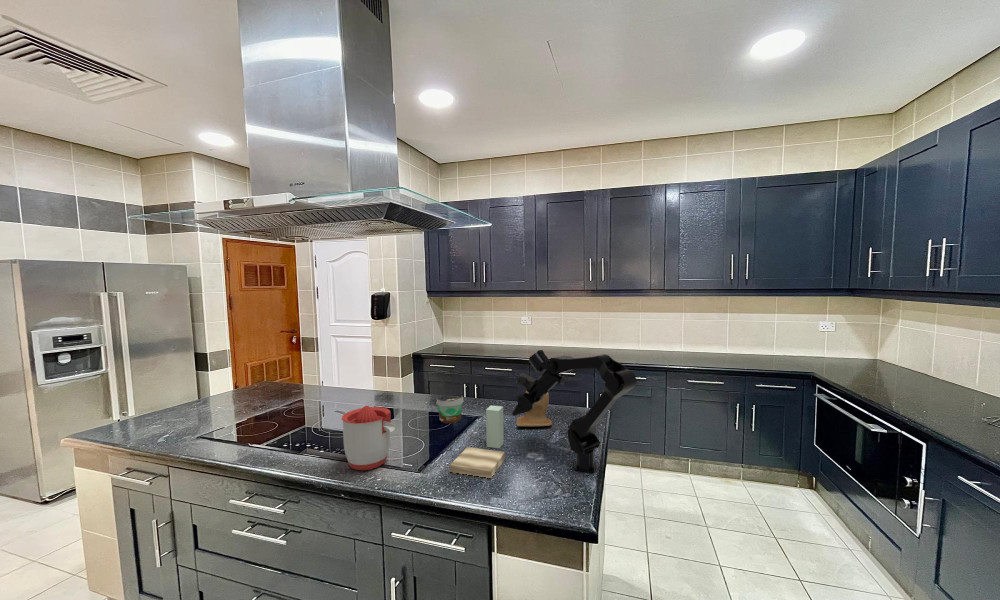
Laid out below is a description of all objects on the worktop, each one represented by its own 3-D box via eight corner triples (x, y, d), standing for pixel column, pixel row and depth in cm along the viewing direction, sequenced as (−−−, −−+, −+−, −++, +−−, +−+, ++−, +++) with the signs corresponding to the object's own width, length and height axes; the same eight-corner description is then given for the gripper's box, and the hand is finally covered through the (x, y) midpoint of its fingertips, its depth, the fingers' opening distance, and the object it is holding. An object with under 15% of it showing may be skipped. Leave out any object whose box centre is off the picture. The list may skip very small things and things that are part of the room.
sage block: (499, 448, 140) (498, 410, 140) (486, 446, 142) (486, 409, 141) (503, 442, 145) (503, 406, 144) (491, 441, 147) (490, 405, 146)
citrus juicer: (383, 476, 121) (381, 414, 120) (333, 472, 124) (331, 412, 123) (404, 454, 137) (402, 399, 136) (359, 451, 139) (357, 397, 138)
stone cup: (549, 419, 169) (548, 385, 169) (553, 429, 157) (553, 393, 157) (515, 419, 169) (514, 386, 168) (516, 430, 157) (516, 394, 156)
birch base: (491, 479, 118) (490, 471, 118) (450, 472, 123) (449, 465, 123) (504, 459, 132) (504, 452, 132) (467, 453, 136) (467, 446, 136)
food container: (440, 426, 162) (439, 403, 162) (436, 421, 168) (436, 399, 168) (467, 421, 167) (467, 399, 167) (463, 417, 173) (462, 395, 173)
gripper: (536, 361, 147) (510, 388, 152) (521, 371, 130) (492, 401, 134) (557, 383, 145) (530, 409, 149) (544, 396, 127) (514, 426, 132)
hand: (517, 410), depth 141 cm, fingers open, 9 cm apart
